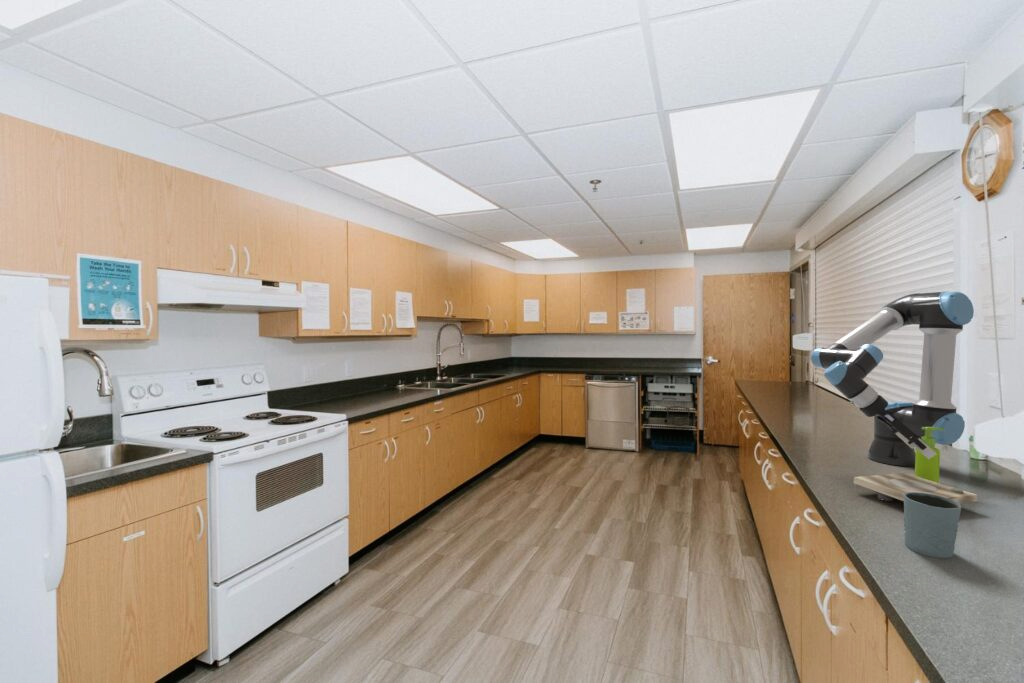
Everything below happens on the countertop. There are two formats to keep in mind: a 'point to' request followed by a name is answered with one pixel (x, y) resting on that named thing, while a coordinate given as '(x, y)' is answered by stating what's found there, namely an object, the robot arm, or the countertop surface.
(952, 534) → the blue-grey cup
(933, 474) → the soap dispenser
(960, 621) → the countertop surface
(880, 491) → the stand
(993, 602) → the countertop surface
